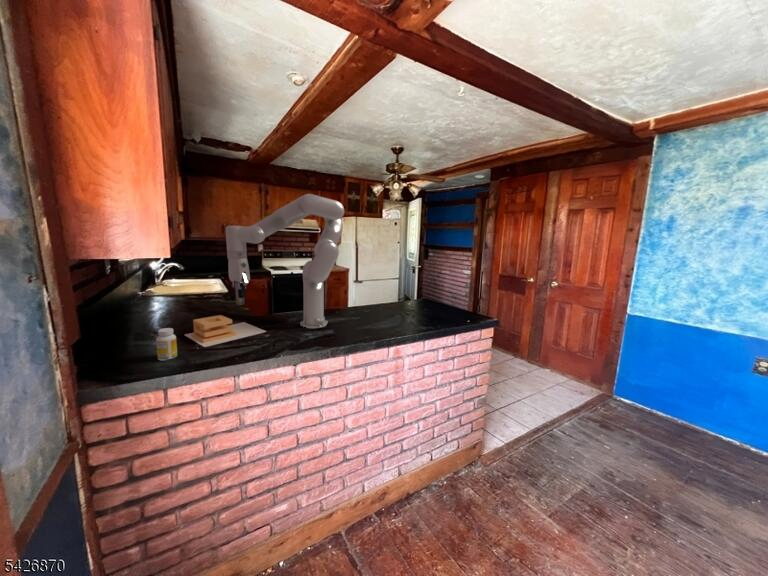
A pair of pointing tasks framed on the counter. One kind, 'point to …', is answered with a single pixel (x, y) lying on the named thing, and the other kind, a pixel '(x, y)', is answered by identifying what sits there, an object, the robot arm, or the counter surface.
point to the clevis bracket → (212, 328)
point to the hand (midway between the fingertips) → (239, 296)
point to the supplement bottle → (166, 344)
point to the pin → (238, 300)
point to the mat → (241, 332)
